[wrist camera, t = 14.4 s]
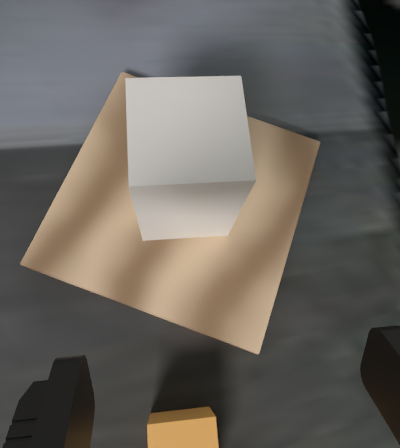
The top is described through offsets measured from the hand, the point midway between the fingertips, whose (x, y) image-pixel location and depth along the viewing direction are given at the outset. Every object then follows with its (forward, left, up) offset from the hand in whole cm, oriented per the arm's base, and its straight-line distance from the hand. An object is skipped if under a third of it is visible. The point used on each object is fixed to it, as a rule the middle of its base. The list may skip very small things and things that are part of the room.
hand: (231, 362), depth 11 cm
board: (-5, +10, -17) cm, 21 cm away
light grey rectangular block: (-5, +10, -16) cm, 20 cm away
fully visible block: (+1, -6, -17) cm, 18 cm away
